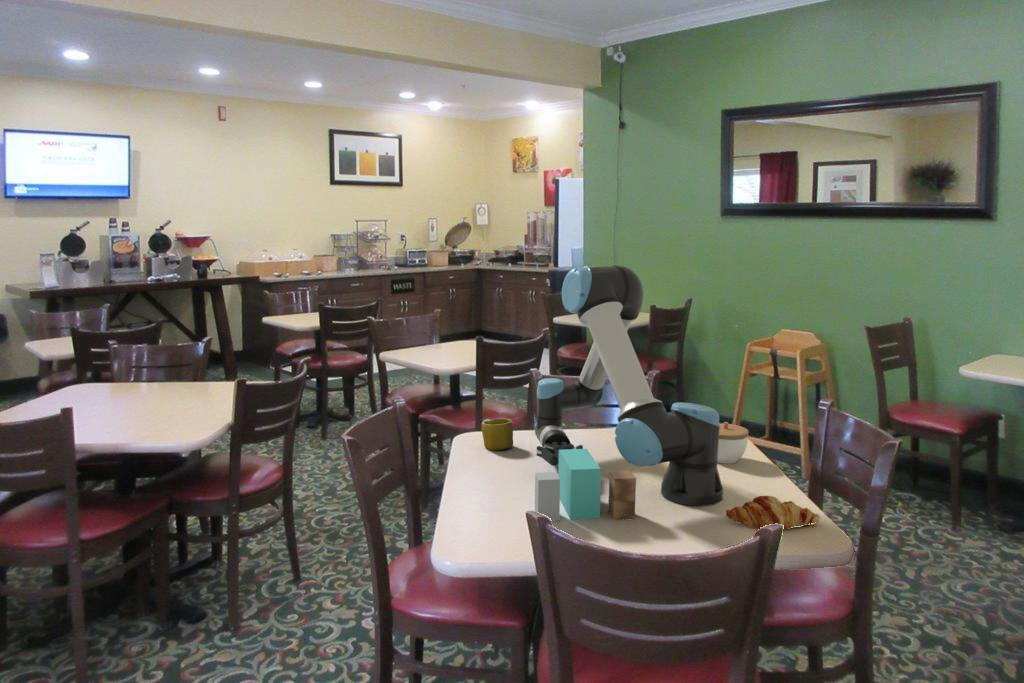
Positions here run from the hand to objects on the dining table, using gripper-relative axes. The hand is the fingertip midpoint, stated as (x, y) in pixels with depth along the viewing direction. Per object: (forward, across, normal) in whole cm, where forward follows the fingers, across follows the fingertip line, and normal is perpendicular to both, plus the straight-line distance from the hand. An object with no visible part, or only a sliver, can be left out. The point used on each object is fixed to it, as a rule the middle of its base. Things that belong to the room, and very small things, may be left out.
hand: (571, 470), depth 192 cm
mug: (-43, +15, -7) cm, 46 cm away
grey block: (+13, +8, -6) cm, 17 cm away
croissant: (+23, -42, -7) cm, 49 cm away
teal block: (+8, 0, -6) cm, 10 cm away
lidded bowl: (-23, -49, -7) cm, 55 cm away
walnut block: (+14, -9, -6) cm, 18 cm away
